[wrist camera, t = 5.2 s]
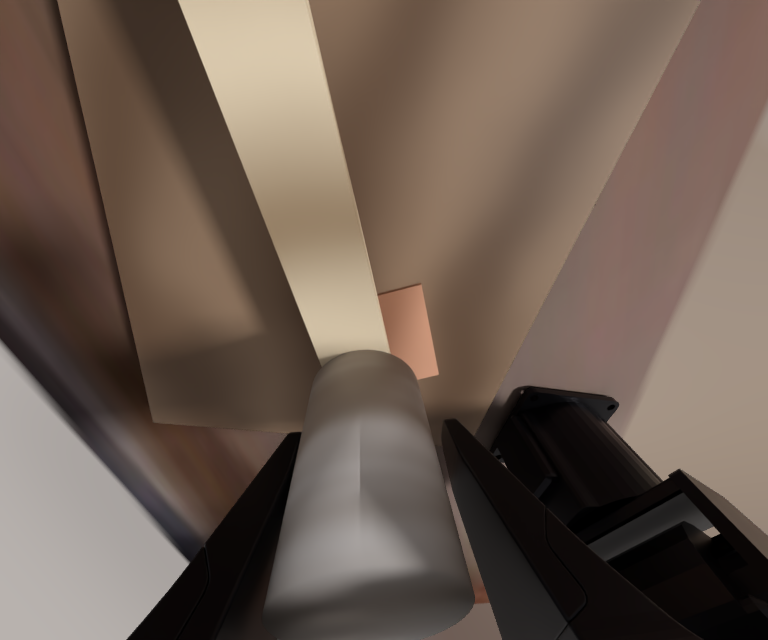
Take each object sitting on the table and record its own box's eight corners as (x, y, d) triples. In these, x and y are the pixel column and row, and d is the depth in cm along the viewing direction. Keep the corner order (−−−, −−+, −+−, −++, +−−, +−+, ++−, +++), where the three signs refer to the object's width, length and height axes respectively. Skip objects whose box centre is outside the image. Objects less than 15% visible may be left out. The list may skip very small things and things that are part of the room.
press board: (775, -230, 7) (948, -393, 5) (460, 428, 19) (473, 463, 17) (-34, -735, 5) (-394, -1560, 2) (170, 401, 16) (139, 438, 14)
